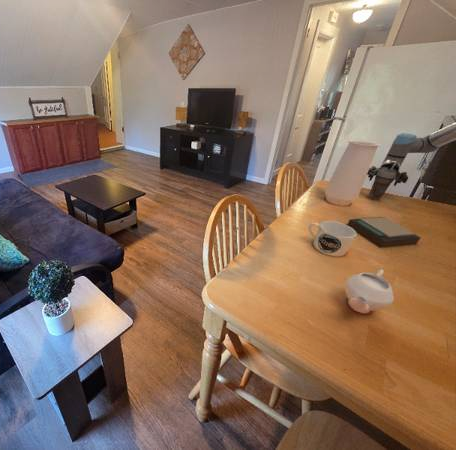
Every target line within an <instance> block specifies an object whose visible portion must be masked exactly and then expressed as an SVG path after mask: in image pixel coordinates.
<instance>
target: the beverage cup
mask: <svg viewBox="0 0 456 450" xmlns="http://www.w3.org/2000/svg"><path fill="white" fill-rule="evenodd" d="M397 162H398V159H397V161H396V162H395V164H394V165H393V166H392V168H384V169H381V170H380V171H379V172H378V173H377V174H376V176H374V181H373V183H372V185H371V188H370V191H369V194H368V197H367V199H369V200H371V201H375V202H379V201H380V199H381V198H382V197H383V196H384V194H386V192H387V190H388V188H389V187H390V186H391V184H393V182H395V177H396V172H395V170H393V167H394V166H395V165H396V163H397Z"/></svg>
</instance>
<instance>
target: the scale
mask: <svg viewBox="0 0 456 450" xmlns="http://www.w3.org/2000/svg"><path fill="white" fill-rule="evenodd" d="M346 225H347V226H349V227H351V228H352V229H354V230H355V231H356V234H359V235H360V236H362V237H364V238H365V239H366V240H368V241H369V242H371V243H372V244H374V245H375V246H377V247H379V248H381V249H382V248H391V247H401V246H402V247H403V246H413V245H417V244H418V243H419V241H420V240H421V236H419V235H417V234H416V233H415V232H413V231H412V230H409V229H408V228H406V227H405V226H402V225H400V224H398V223H397V222H394V221H392V220H391V219H389V218H387V217H385V216H375V217H364V218H363V217H361V218H350V219H349V220H348V222H347V224H346Z"/></svg>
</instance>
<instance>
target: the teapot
mask: <svg viewBox="0 0 456 450" xmlns="http://www.w3.org/2000/svg"><path fill="white" fill-rule="evenodd" d="M384 273H385V270H384V269H382V268H381V269H379V270H378V271H377V272H376V273H373V272H359V273H355V274H353V275H350V276H348V278H347V279H346V281H345V283H344V292H345V296H346V297H347V300H348V301H347V304H348V306H349V307H350V308H351V309H352V310H353V311H355V312H357V313H361V314H369V313H370V312H371V311H381V310H384V309H386V308H388V307H389V306H391V305H392V304H393V302H394V299H395V295H394V290H393V288H392V285H391V283H389V282H388V280H386V279H385V278H384V277H383V275H384Z"/></svg>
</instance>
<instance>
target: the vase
mask: <svg viewBox="0 0 456 450" xmlns="http://www.w3.org/2000/svg"><path fill="white" fill-rule="evenodd" d="M347 142H348V144H347V146H346V148H345V149H344V152H343V153H342V155H341V157H340V159H339V161H338V163H337V165H336V167H335V169H334V171H333V172H332V175H331V177H330V179H329V181H328V182H327V185H326V188H325V190H324V194H325V200H326V201H327V202H328V203H331V204H333V205H336V206H341V207H346V206H349V205H350V204H351V203H352V202H354V201H356V200H357V199H358V197H359V195H360V193H361V191H362V188H363V186H364V183H365V180H366V178H367V177H368V175H367V173H368V171H369V168H371V166H372V163H373V160H374V157H375V154H376V152H377V149H378V147H380V146H382V143H380V142H378V141H376V140H375V141H374V140H371V139H370V140H369V139H364V138H363V139H362V138H350V139H347Z"/></svg>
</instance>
